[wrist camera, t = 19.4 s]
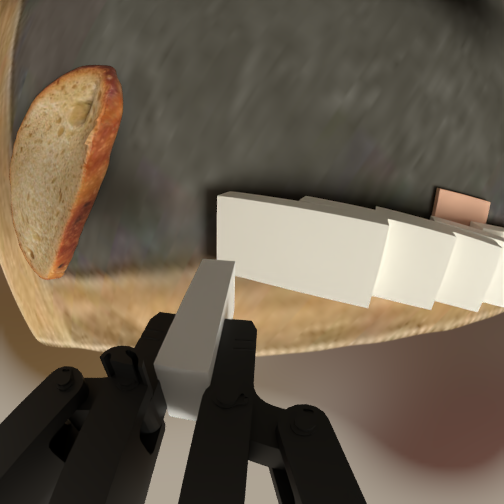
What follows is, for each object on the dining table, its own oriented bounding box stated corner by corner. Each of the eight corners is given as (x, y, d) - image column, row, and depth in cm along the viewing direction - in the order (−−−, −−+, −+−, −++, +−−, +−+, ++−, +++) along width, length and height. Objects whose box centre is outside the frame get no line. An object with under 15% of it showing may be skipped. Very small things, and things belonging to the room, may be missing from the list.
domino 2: (289, 275, 20) (430, 309, 16) (299, 200, 18) (456, 236, 14) (296, 265, 22) (427, 297, 18) (305, 195, 19) (450, 229, 15)
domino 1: (216, 270, 20) (367, 308, 16) (217, 195, 18) (389, 225, 14) (228, 261, 22) (368, 294, 18) (229, 191, 19) (387, 217, 16)
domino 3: (359, 281, 20) (477, 312, 16) (375, 210, 18) (502, 248, 13) (361, 271, 21) (472, 301, 17) (376, 206, 19) (495, 240, 15)
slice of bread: (46, 280, 25) (27, 297, 21) (0, 137, 18) (-24, 142, 14) (175, 247, 22) (159, 268, 18) (119, 47, 15) (95, 36, 12)
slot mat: (409, 293, 22) (411, 296, 22) (436, 187, 18) (440, 188, 18) (459, 294, 22) (462, 296, 21) (487, 201, 18) (490, 202, 17)
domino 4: (416, 285, 19) (511, 309, 15) (434, 220, 17) (533, 252, 13) (414, 276, 21) (506, 299, 17) (430, 215, 19) (525, 245, 14)
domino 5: (464, 286, 19) (517, 283, 19) (483, 227, 17) (532, 237, 17) (454, 276, 20) (508, 276, 21) (470, 220, 18) (522, 231, 18)
